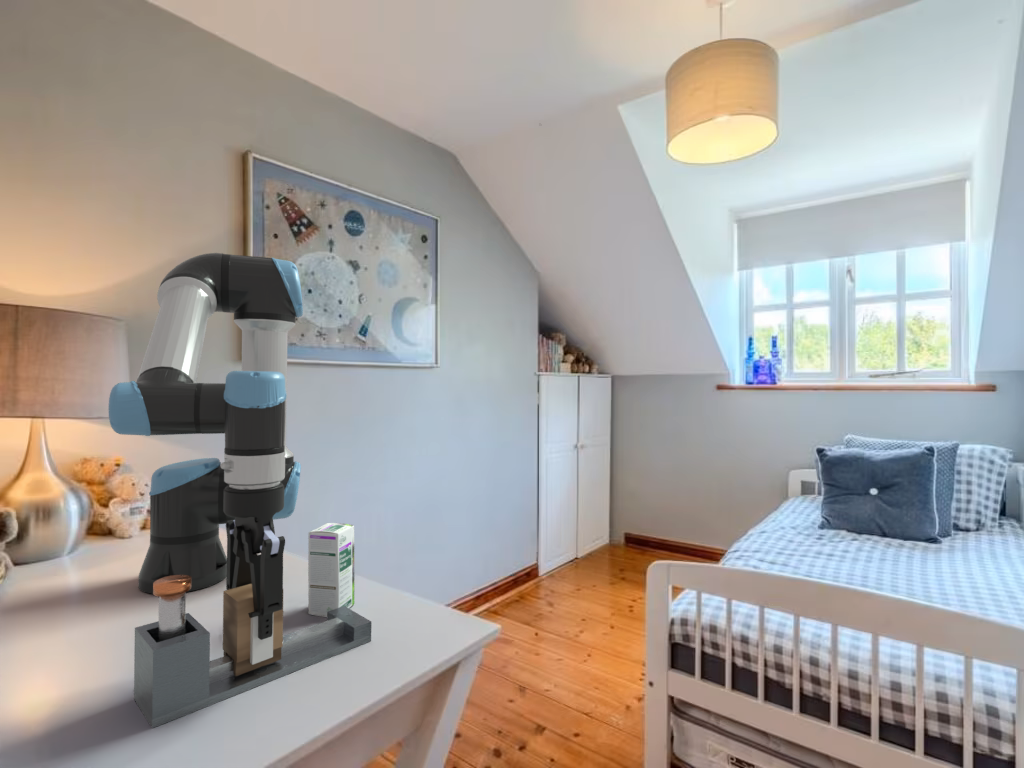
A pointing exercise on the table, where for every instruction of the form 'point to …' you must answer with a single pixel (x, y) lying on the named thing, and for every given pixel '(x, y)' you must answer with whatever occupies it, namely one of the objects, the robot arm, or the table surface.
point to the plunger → (172, 604)
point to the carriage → (245, 629)
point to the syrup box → (330, 568)
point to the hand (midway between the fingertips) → (252, 651)
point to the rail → (226, 663)
